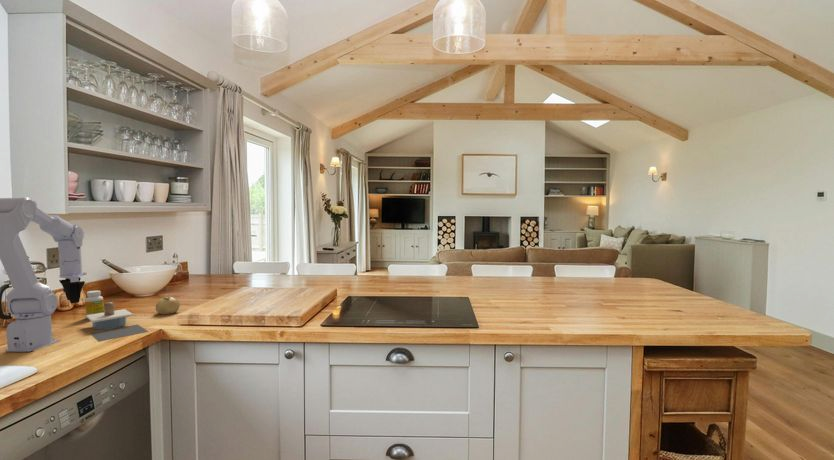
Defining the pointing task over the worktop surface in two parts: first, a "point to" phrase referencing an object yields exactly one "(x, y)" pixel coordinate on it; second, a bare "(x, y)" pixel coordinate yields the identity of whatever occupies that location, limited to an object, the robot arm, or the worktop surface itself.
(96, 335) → the mat
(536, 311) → the worktop surface
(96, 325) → the bowl
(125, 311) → the cover
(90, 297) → the supplement bottle
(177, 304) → the onion
